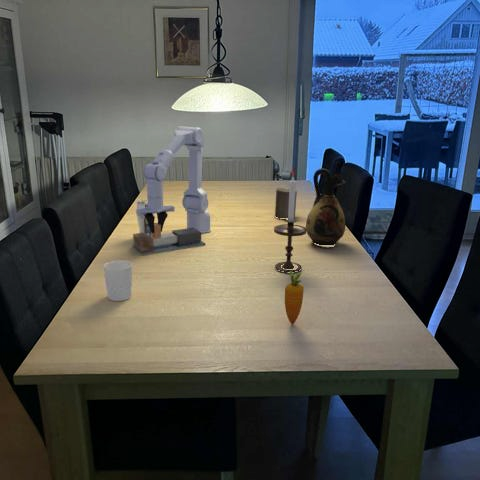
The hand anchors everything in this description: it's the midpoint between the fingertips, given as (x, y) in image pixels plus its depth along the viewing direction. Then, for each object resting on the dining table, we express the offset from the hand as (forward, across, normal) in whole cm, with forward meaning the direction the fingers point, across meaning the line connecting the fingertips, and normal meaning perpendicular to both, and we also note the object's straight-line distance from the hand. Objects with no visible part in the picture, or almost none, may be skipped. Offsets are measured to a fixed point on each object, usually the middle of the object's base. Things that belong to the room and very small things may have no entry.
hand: (156, 231), depth 190 cm
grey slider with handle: (+5, +2, 0) cm, 5 cm away
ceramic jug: (+7, +60, -26) cm, 66 cm away
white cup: (+7, -27, -37) cm, 46 cm away
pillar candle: (+7, +71, +14) cm, 73 cm away
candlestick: (+7, +31, -42) cm, 53 cm away
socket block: (+6, -5, 0) cm, 8 cm away
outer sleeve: (+6, +5, 0) cm, 8 cm away
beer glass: (+7, +1, +13) cm, 15 cm away
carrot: (+7, +7, -76) cm, 77 cm away
